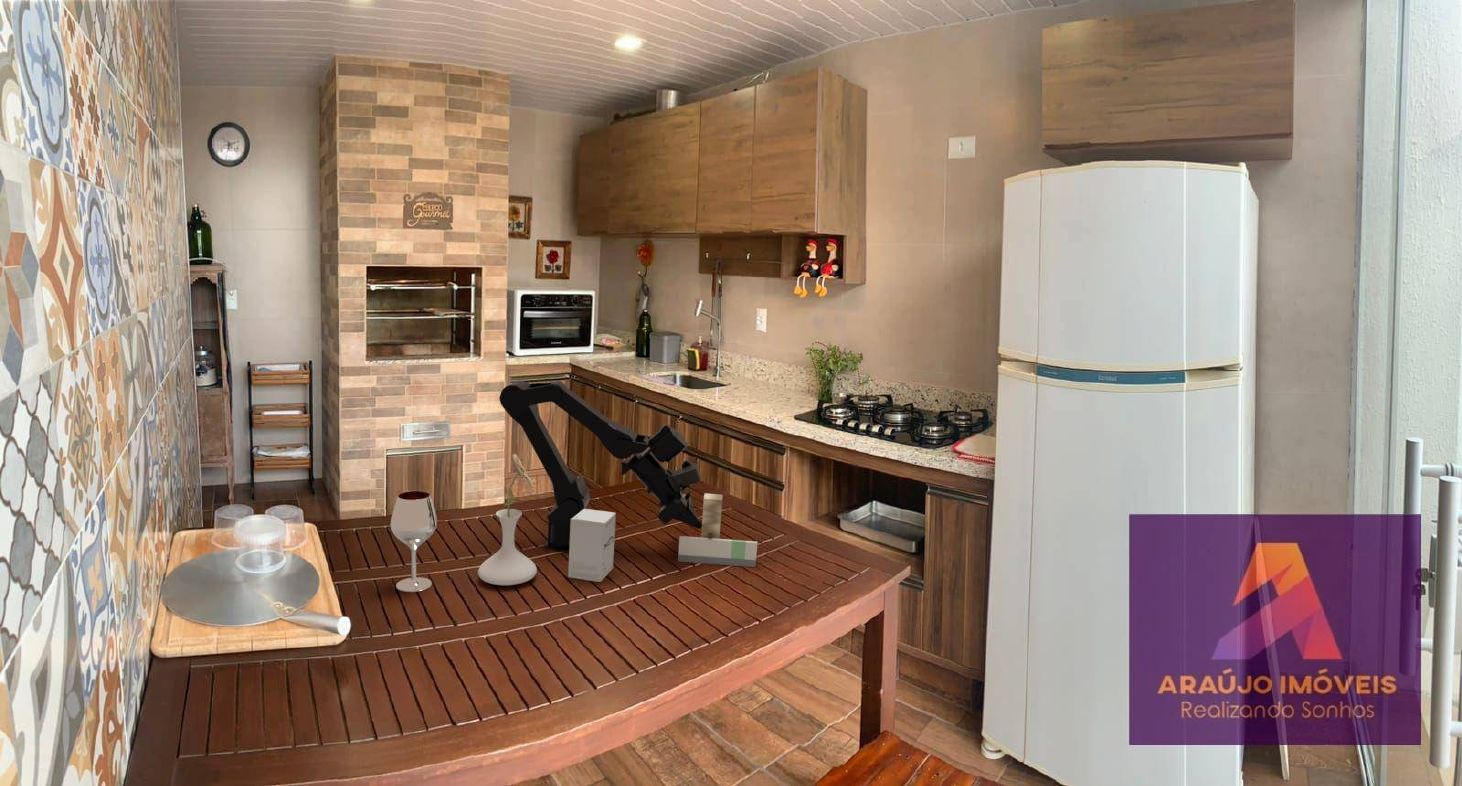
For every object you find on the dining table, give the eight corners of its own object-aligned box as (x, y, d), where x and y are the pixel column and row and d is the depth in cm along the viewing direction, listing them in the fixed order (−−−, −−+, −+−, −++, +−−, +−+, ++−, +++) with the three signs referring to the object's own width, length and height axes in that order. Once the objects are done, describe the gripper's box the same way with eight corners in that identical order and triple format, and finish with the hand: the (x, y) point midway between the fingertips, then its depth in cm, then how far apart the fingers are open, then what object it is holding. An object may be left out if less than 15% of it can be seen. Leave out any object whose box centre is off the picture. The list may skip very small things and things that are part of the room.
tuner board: (677, 561, 176) (679, 537, 175) (680, 548, 184) (682, 525, 183) (755, 567, 176) (757, 543, 175) (754, 553, 184) (756, 530, 183)
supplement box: (601, 583, 162) (604, 523, 160) (567, 577, 163) (569, 518, 161) (614, 569, 169) (616, 512, 167) (580, 564, 170) (583, 507, 168)
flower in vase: (528, 593, 155) (532, 467, 151) (469, 588, 155) (471, 463, 151) (544, 566, 168) (548, 450, 163) (490, 562, 168) (492, 446, 163)
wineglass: (392, 596, 149) (392, 503, 146) (388, 579, 156) (388, 490, 153) (439, 591, 153) (440, 500, 150) (433, 574, 160) (434, 487, 157)
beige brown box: (697, 555, 175) (700, 501, 173) (698, 544, 182) (702, 492, 179) (720, 557, 175) (724, 503, 173) (720, 546, 182) (724, 494, 179)
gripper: (677, 463, 166) (727, 517, 168) (684, 442, 185) (728, 491, 187) (637, 497, 168) (687, 551, 170) (648, 473, 186) (693, 521, 188)
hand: (700, 527), depth 179 cm, fingers closed, pressing on beige brown box
